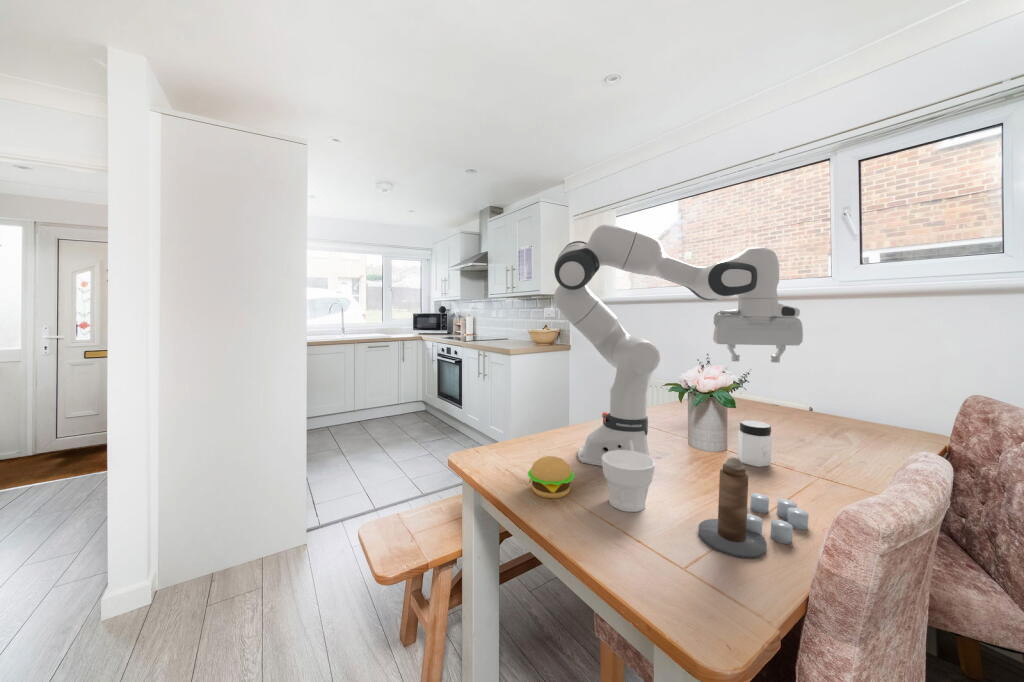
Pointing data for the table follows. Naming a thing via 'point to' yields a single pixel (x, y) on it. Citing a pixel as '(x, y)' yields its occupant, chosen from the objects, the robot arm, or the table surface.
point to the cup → (628, 478)
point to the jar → (754, 443)
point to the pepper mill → (733, 501)
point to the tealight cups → (779, 528)
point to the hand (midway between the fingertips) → (755, 361)
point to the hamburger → (550, 477)
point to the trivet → (747, 549)
